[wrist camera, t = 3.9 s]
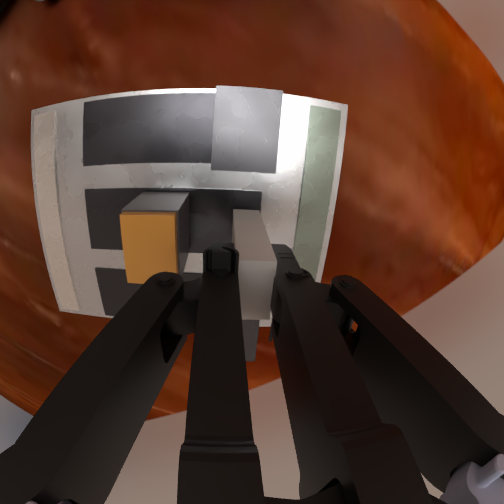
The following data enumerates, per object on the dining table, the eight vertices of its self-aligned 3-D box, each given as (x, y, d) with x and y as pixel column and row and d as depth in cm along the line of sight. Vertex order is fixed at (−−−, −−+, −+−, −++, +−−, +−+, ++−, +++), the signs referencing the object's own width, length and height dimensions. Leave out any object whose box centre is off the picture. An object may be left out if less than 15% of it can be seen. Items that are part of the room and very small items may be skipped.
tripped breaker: (146, 249, 18) (126, 284, 14) (143, 191, 16) (117, 212, 12) (189, 251, 18) (179, 287, 14) (189, 192, 17) (176, 213, 13)
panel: (68, 298, 22) (39, 341, 16) (46, 109, 15) (-7, 112, 9) (304, 311, 24) (323, 362, 18) (336, 106, 17) (380, 101, 11)
